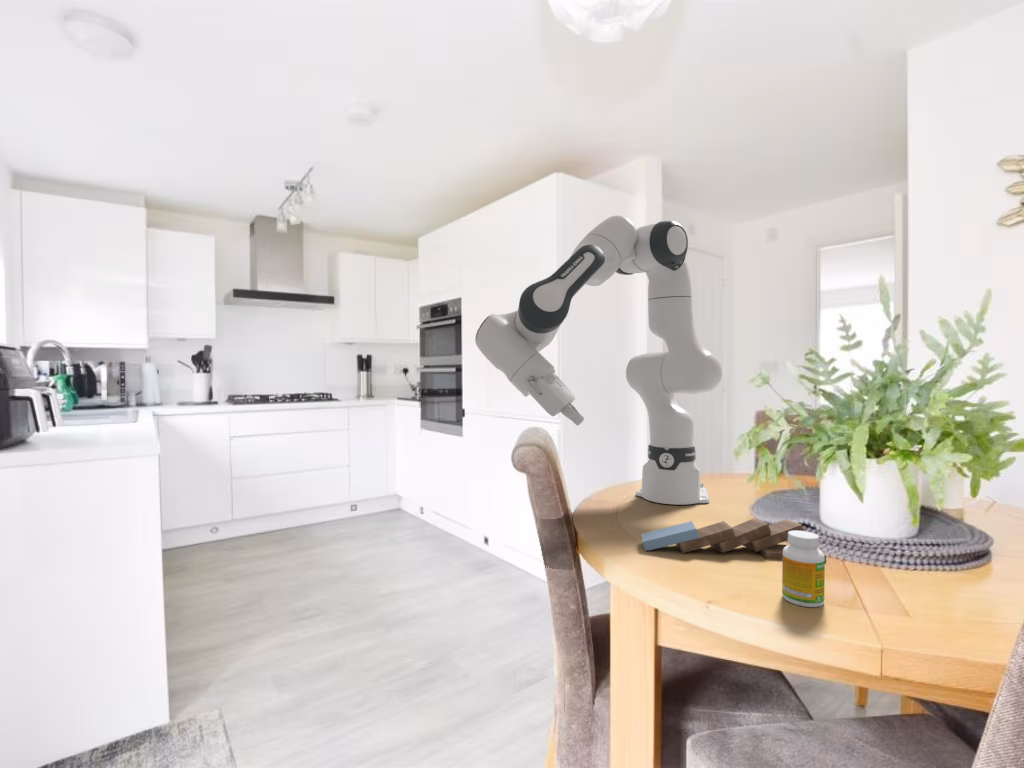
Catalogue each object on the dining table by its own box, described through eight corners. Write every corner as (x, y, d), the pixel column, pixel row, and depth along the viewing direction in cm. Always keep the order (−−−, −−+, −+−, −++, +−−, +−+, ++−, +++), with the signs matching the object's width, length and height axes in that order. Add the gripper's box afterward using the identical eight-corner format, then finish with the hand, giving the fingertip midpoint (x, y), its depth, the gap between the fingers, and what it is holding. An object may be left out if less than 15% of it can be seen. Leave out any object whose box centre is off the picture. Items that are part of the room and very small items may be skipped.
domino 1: (642, 541, 97) (695, 528, 96) (640, 533, 102) (691, 521, 101) (645, 551, 97) (698, 538, 96) (643, 542, 102) (694, 530, 101)
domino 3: (719, 543, 95) (767, 523, 96) (707, 537, 100) (753, 518, 101) (722, 552, 95) (771, 532, 96) (710, 546, 100) (756, 527, 101)
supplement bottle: (821, 611, 72) (822, 542, 72) (779, 601, 76) (779, 535, 75) (826, 598, 77) (826, 533, 77) (785, 589, 80) (786, 526, 80)
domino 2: (679, 543, 96) (732, 528, 95) (673, 536, 101) (723, 521, 100) (682, 553, 96) (735, 537, 95) (676, 545, 101) (726, 530, 100)
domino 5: (765, 552, 93) (826, 555, 92) (757, 543, 98) (815, 546, 96) (765, 562, 93) (826, 565, 92) (757, 552, 98) (815, 555, 96)
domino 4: (752, 542, 95) (802, 524, 96) (738, 536, 100) (785, 519, 101) (755, 551, 95) (805, 534, 96) (741, 545, 100) (788, 528, 101)
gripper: (535, 366, 100) (587, 417, 98) (551, 365, 120) (595, 407, 118) (513, 389, 101) (564, 440, 99) (533, 385, 121) (576, 427, 119)
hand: (581, 422), depth 109 cm, fingers closed
